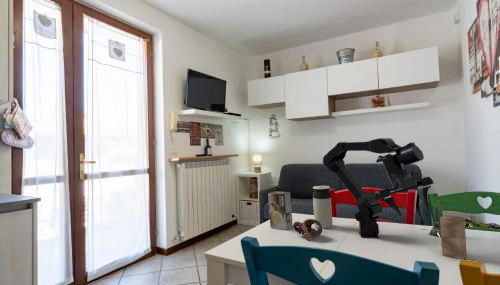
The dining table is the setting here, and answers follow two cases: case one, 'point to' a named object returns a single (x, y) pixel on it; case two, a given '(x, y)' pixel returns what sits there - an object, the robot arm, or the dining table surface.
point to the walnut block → (453, 237)
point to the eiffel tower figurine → (435, 226)
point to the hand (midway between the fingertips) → (413, 212)
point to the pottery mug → (308, 228)
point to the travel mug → (322, 206)
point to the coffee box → (280, 210)
